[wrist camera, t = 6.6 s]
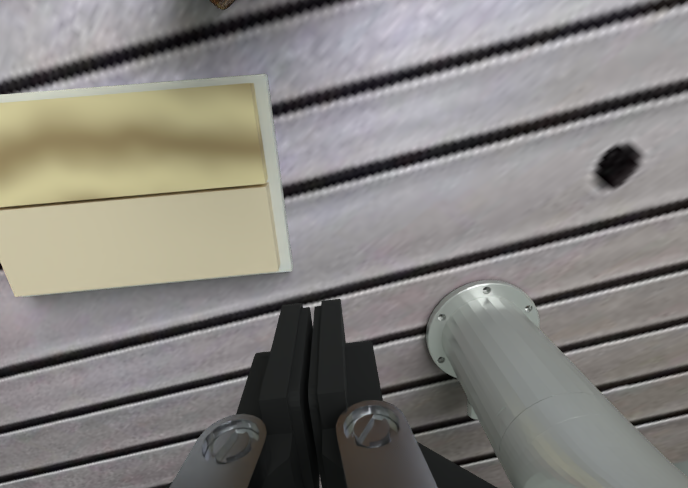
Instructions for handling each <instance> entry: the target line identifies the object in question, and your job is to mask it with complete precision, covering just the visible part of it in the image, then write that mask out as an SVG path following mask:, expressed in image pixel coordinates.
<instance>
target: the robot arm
mask: <svg viewBox="0 0 688 488" xmlns="http://www.w3.org/2000/svg"><path fill="white" fill-rule="evenodd" d="M426 343H427V347H428V350H429V353H430V355H431V357H432V359H433V361H434V362H435V363H436V365H437V366H438V367H439V368H440V369H441V370H443V371H444V372H445V373H446V374H449V375H451V376H453V377H455V378H458V380H459V382H460V384H461V386H462V388H463V390H464V392H465V394H466V396H467V398H468V399H467V414H468V416H469V417H471V418H473V419H478V420H479V422H480V424H481V426H482V428H483V430H484V431H485V433H486V435H487V437H488V439H489V441H490V443H491V445H492V447H493V449H494V451H495V453H496V455H497V457H498V459H499V461H500V463H501V465H502V467H503V469H504V471H505V473H506V475H507V477H508V479H509V481H510V482H511V484H512V486H513V487H514V488H688V477H686V475H684V474H683V473H682V472H681V471H680V470H679V469H677V468H676V467H675V466H674V465H673V464H672V463H671V462H670V461H669V460H668V459H667V458H666V457H665V456H664V455H663V454H662V453H661V452H660V451H658V450H657V449H656V448H655V447H654V446H653V445H652V444H651V443H650V442H649V441H648V440H647V439H646V438H645V437H644V436H643V435H642V434H641V433H640V432H639V431H638V430H637V429H636V428H635V427H634V426H633V425H632V424H631V423H630V422H629V421H628V420H627V419H626V418H625V417H624V416H623V415H622V414H621V413H620V412H619V411H618V410H617V409H616V408H615V407H614V406H613V405H612V404H611V402H610V401H609V400H608V399H607V398H606V397H605V396H604V395H603V394H602V393H601V392H600V391H599V390H598V389H597V388H596V387H595V386H594V385H593V384H592V383H591V382H590V381H589V380H588V379H587V378H586V377H585V376H584V375H583V373H582V372H581V371H580V370H579V369H578V368H577V367H576V366H575V365H574V364H573V363H572V362H571V361H570V360H569V359H568V358H567V357H566V356H565V355H564V354H563V353H562V352H561V351H560V350H559V349H558V348H557V347H556V346H555V344H554V343H553V342H552V341H551V340H550V339H549V338H548V337H547V336H546V335H545V334H544V333H543V332H542V331H541V330H540V319H539V315H538V310H537V308H536V306H535V304H534V302H533V301H532V300H531V299H530V298H529V296H528V295H527V294H525V293H524V292H523V291H522V290H521V289H519V288H518V287H516V286H514V285H513V284H510V283H507V282H504V281H498V280H480V281H476V282H472V283H468V284H466V285H464V286H461V287H459V288H457V289H456V290H454V291H452V292H451V293H449V294H448V295H447V296H446V297H445V298H444V299H442V300H441V302H440V303H439V304H438V305H437V306H436V308H435V309H434V311H433V313H432V314H431V316H430V318H429V321H428V324H427V329H426ZM319 477H321V483H322V488H497V487H495V486H493V485H491V484H490V483H488V482H486V481H484V480H483V479H481V478H479V477H477V476H476V475H474V474H472V473H470V472H469V471H467V470H465V469H463V468H462V467H460V466H458V465H456V464H455V463H453V462H451V461H449V460H448V459H446V458H444V457H442V456H441V455H439V454H437V453H436V452H434V451H432V450H430V449H429V448H427V447H425V446H423V445H422V444H420V443H418V442H417V441H416V439H415V437H414V434H413V432H412V430H411V428H410V426H409V424H408V421H407V419H406V417H405V416H404V414H403V413H402V411H401V410H400V409H398V408H397V407H395V406H394V405H392V404H390V403H387V402H384V401H383V400H382V394H381V389H380V383H379V378H378V372H377V366H376V361H375V355H374V350H373V344H372V341H363V342H354V343H346V341H345V333H344V324H343V316H342V307H341V300H340V299H335V300H326V301H322V304H321V306H317V307H315V310H314V322H313V326H312V319H311V312H310V308H309V307H307V308H303V306H302V303H298V304H289V305H282V308H281V312H280V316H279V320H278V324H277V328H276V332H275V336H274V340H273V344H272V348H271V351H270V352H261V353H256V354H255V356H254V359H253V363H252V366H251V369H250V372H249V375H248V378H247V382H246V385H245V388H244V391H243V394H242V398H241V401H240V404H239V407H238V410H237V414H236V415H232V416H229V417H226V418H223V419H221V420H219V421H217V422H215V423H214V424H212V425H211V426H210V427H208V428H207V429H206V430H205V431H204V432H203V433H202V434H201V436H200V437H199V438H198V440H197V441H196V443H195V445H194V446H193V448H192V450H191V451H190V453H189V455H188V457H187V458H186V460H185V462H184V463H183V465H182V467H181V468H180V470H179V472H178V474H177V475H176V477H175V479H174V480H173V482H172V483H170V484H169V485H167V486H166V487H165V488H319Z"/></svg>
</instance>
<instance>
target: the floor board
mask: <svg viewBox="0 0 688 488" xmlns="http://www.w3.org/2000/svg"><path fill="white" fill-rule="evenodd" d="M243 83H254V88H255V95H256V102H257V108H258V115H259V122H260V128H261V135H262V142H263V148H264V155H265V162H266V168H267V175H268V180H267V182H266V184H257V185H246V186H235V187H223V188H212V189H201V190H189V191H178V192H167V193H156V194H144V195H133V196H122V197H111V198H99V199H88V200H77V201H66V202H54V203H43V204H32V205H20V206H9V207H0V262H1V265H2V267H3V269H4V272H5V274H6V276H7V279H8V281H9V284H10V286H11V288H12V291H13V293H14V296H15V297H19V296H23V297H31V296H41V295H51V294H62V293H72V292H82V291H93V290H103V289H113V288H124V287H134V286H144V285H155V284H165V283H176V282H186V281H196V280H207V279H217V278H227V277H238V276H248V275H258V274H269V273H279V272H289V271H292V267H293V263H292V256H291V248H290V241H289V233H288V226H287V218H286V211H285V203H284V196H283V188H282V181H281V174H280V166H279V159H278V151H277V144H276V136H275V129H274V121H273V114H272V106H271V99H270V91H269V84H268V76H267V74H257V75H244V76H232V77H219V78H207V79H194V80H181V81H169V82H156V83H143V84H131V85H118V86H105V87H93V88H80V89H67V90H55V91H42V92H30V93H17V94H4V95H0V103H5V102H18V101H30V100H43V99H55V98H68V97H80V96H93V95H105V94H118V93H130V92H143V91H155V90H168V89H180V88H193V87H206V86H218V85H231V84H243Z"/></svg>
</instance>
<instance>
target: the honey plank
mask: <svg viewBox="0 0 688 488" xmlns="http://www.w3.org/2000/svg"><path fill="white" fill-rule="evenodd" d="M267 180H268V175H267V168H266V162H265V155H264V148H263V142H262V135H261V128H260V122H259V115H258V108H257V102H256V95H255V88H254V83H243V84H231V85H218V86H206V87H193V88H180V89H168V90H155V91H143V92H130V93H118V94H105V95H93V96H80V97H68V98H55V99H43V100H30V101H18V102H5V103H0V207H9V206H20V205H32V204H43V203H54V202H66V201H77V200H88V199H99V198H111V197H122V196H133V195H144V194H156V193H167V192H178V191H189V190H201V189H212V188H223V187H235V186H246V185H257V184H266V182H267Z"/></svg>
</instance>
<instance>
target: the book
mask: <svg viewBox="0 0 688 488" xmlns="http://www.w3.org/2000/svg"><path fill="white" fill-rule="evenodd" d="M210 1H211V2H212V3H213V4H214V5H215V6H216V7H217V8H220V9H222V10H223V9H226V8H228V7H229V6H230V5H231V4H232V3H233V2H234V1H235V0H210Z"/></svg>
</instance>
